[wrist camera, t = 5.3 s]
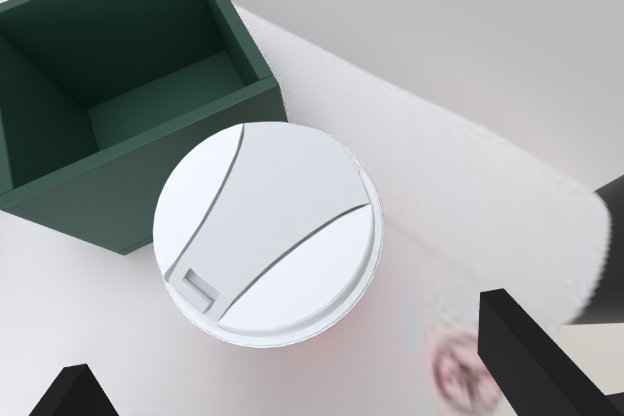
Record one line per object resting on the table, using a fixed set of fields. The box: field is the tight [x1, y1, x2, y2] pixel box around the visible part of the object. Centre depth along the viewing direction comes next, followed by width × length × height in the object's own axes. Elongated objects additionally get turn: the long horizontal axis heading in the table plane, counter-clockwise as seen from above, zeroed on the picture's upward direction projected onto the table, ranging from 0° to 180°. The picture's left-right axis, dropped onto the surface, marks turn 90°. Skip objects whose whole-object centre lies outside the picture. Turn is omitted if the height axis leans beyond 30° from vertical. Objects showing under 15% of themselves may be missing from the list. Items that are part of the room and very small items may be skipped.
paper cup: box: [153, 122, 384, 348], centre depth 17 cm, size 8×8×14 cm
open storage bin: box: [0, 0, 288, 255], centre depth 23 cm, size 15×15×10 cm
